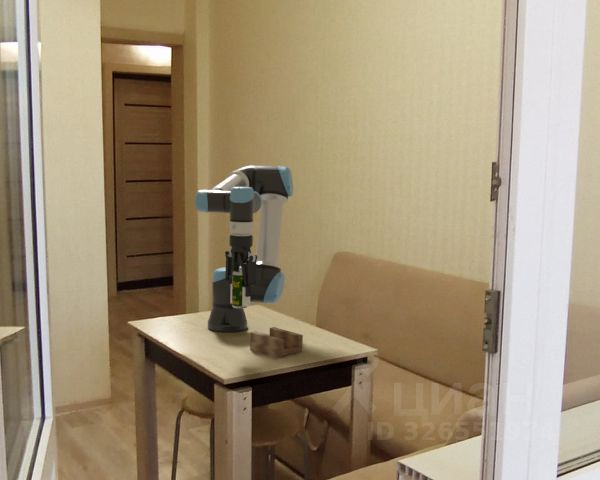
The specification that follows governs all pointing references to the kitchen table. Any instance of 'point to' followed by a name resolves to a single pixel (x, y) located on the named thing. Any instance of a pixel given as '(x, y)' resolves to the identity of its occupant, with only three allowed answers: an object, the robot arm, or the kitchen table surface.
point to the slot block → (276, 343)
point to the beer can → (237, 288)
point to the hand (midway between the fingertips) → (240, 304)
